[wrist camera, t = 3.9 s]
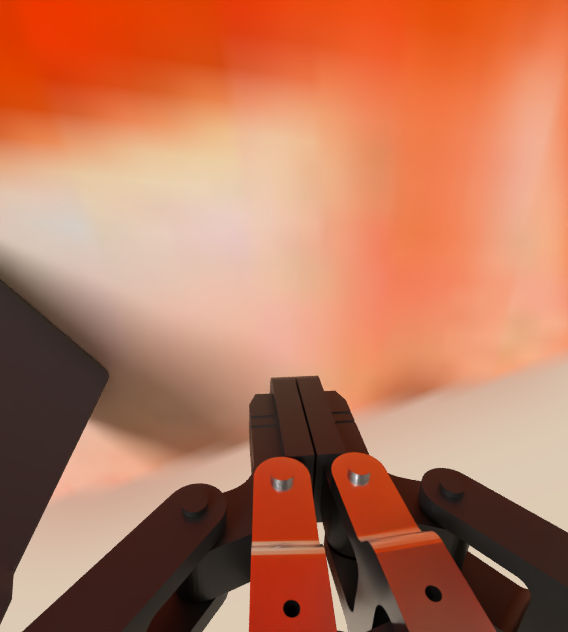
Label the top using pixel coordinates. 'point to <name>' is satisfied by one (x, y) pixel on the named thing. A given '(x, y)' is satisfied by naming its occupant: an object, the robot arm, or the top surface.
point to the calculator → (36, 421)
